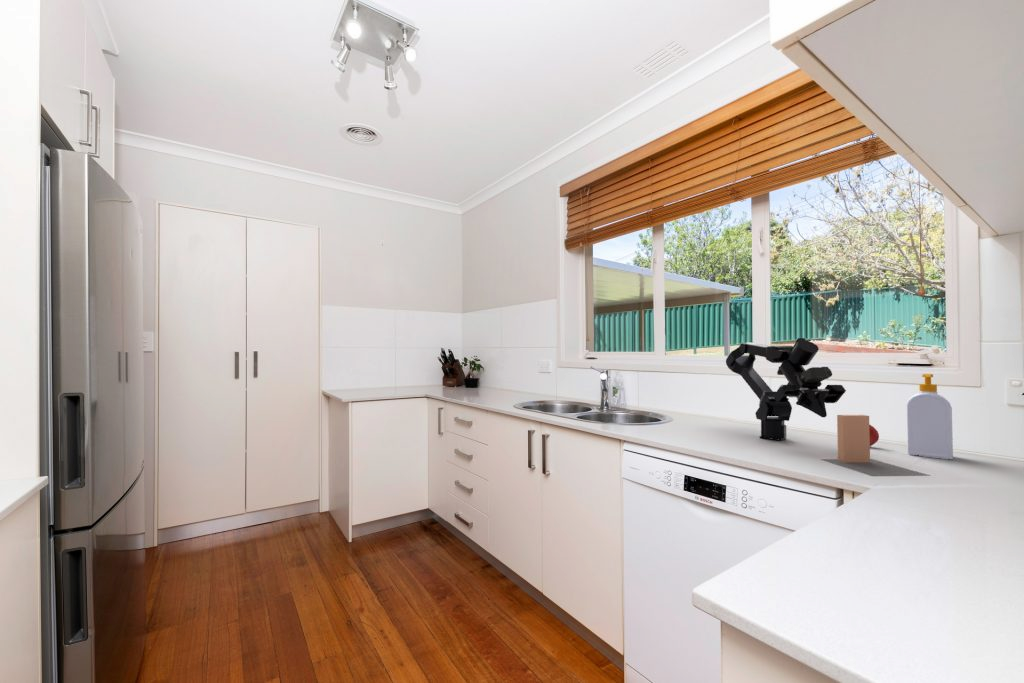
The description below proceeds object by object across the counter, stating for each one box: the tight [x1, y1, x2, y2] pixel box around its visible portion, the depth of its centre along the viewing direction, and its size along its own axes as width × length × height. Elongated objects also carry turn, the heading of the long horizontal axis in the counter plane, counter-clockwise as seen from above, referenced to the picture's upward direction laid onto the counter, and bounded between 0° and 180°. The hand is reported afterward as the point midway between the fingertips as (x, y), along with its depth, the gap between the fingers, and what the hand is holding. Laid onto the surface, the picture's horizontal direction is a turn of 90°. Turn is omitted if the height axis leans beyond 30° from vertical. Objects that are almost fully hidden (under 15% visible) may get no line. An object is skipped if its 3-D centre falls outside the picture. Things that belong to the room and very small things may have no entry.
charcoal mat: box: [820, 458, 931, 477], centre depth 109 cm, size 16×14×1 cm
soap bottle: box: [906, 373, 954, 460], centre depth 123 cm, size 9×7×23 cm
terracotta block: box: [836, 414, 871, 463], centre depth 115 cm, size 2×7×12 cm, turn 93°
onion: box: [869, 423, 880, 447], centre depth 134 cm, size 6×6×8 cm
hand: (824, 416), depth 125 cm, fingers closed
